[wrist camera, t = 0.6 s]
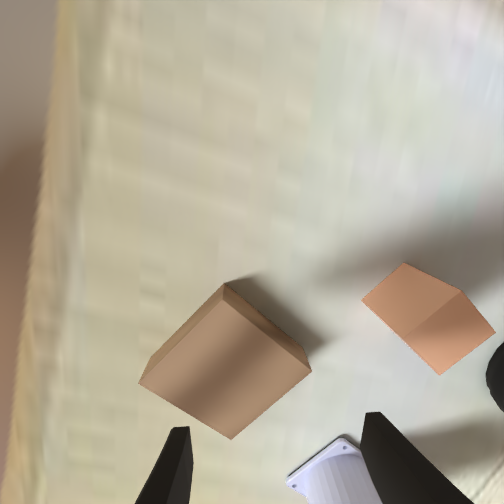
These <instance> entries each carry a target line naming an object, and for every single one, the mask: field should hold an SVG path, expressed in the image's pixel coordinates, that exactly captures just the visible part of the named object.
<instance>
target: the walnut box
mask: <svg viewBox="0 0 504 504" xmlns="http://www.w3.org/2000/svg"><path fill="white" fill-rule="evenodd" d="M311 372H312V370H311V367H310V365H309V362H308V360H307V357H306V355H305V352H304V350H303V348H302V347H301V346H300V345H299V344H298V343H296V342H295V341H294V340H293V339H292V338H290V337H289V336H288V335H287V334H285V333H284V332H283V331H282V330H281V329H279V328H278V327H277V326H276V325H274V324H273V323H272V322H271V321H270V320H268V319H267V318H266V317H265V316H264V315H262V314H261V313H260V312H259V311H257V310H256V309H255V308H254V307H253V306H251V305H250V304H249V303H248V302H246V301H245V300H244V299H243V298H242V297H240V296H239V295H238V294H237V293H236V292H234V291H233V290H232V289H231V288H229V287H228V286H227V285H226V284H225V283H224V284H223V285H222V286H221V287H220V288H219V289H218V290H217V291H216V292H215V293H214V294H213V295H212V296H211V297H210V298H209V299H208V300H207V301H206V302H205V303H204V304H203V305H202V306H201V307H200V308H199V309H198V310H197V311H196V312H195V313H194V314H193V315H192V316H191V317H190V318H189V319H188V320H187V321H186V322H185V323H184V324H183V325H182V326H181V327H180V328H179V329H178V330H177V331H176V332H175V333H174V334H173V335H172V336H171V337H170V338H169V339H168V340H167V341H166V342H165V343H164V344H163V345H162V347H161V348H160V349H159V350H158V351H157V352H156V353H155V354H154V355H153V356H152V357H151V358H150V360H149V362H148V364H147V366H146V368H145V370H144V372H143V374H142V376H141V379H140V381H139V383H138V384H140V385H142V386H143V387H145V388H147V389H148V390H150V391H151V392H153V393H155V394H156V395H158V396H160V397H161V398H163V399H165V400H166V401H168V402H170V403H171V404H173V405H174V406H176V407H178V408H179V409H181V410H183V411H184V412H186V413H188V414H189V415H191V416H193V417H194V418H196V419H197V420H199V421H201V422H202V423H204V424H206V425H207V426H209V427H211V428H212V429H214V430H216V431H217V432H219V433H220V434H222V435H224V436H225V437H227V438H229V439H230V440H231V439H233V438H234V437H235V436H236V435H237V434H239V433H240V432H241V431H242V430H243V429H244V428H246V427H247V426H248V425H249V424H250V423H252V422H253V421H254V420H255V419H256V418H257V417H259V416H260V415H261V414H262V413H263V412H265V411H266V410H267V409H268V408H269V407H270V406H272V405H273V404H274V403H275V402H276V401H278V400H279V399H280V398H281V397H282V396H283V395H285V394H286V393H287V392H288V391H289V390H291V389H292V388H293V387H294V386H295V385H296V384H298V383H299V382H300V381H301V380H302V379H304V378H305V377H306V376H307V375H308V374H309V373H311Z"/></svg>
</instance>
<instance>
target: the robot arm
mask: <svg viewBox="0 0 504 504" xmlns="http://www.w3.org/2000/svg"><path fill="white" fill-rule="evenodd" d="M193 463H194V462H193V454H192V445H191V436H190V427H189V426H186V427H174V428H173V429H171V431H170V434H169V436H168V438H167V440H166V443H165V445H164V447H163V449H162V451H161V453H160V456H159V458H158V460H157V462H156V464H155V466H154V468H153V470H152V472H151V474H150V476H149V478H148V479H147V481H146V483H145V485H144V487H143V489H142V491H141V493H140V494H139V496H138V498H137V500H136V502H135V504H189V500H190V491H191V482H192V473H193ZM286 485H287V486H288V487H289V488H291V489H293V490H295V491H296V492H298V493H300V494H302V495H303V496H305V497H307V501H308V504H474V503H473V502H472V501H471V500H469V499H468V498H467V497H466V496H465V495H464V494H463V493H462V492H461V491H460V490H459V489H458V488H456V487H455V486H454V485H453V484H452V483H451V482H450V481H449V480H448V479H447V478H446V477H445V476H444V475H443V474H442V473H441V472H440V471H439V470H438V469H437V468H436V467H435V466H434V465H433V464H431V463H430V462H429V461H428V460H427V459H426V458H425V457H424V456H423V455H422V454H421V453H420V452H419V451H418V450H417V449H416V448H415V447H414V446H413V445H412V444H411V443H410V442H409V441H408V440H407V439H406V438H405V437H404V436H403V435H402V433H401V432H400V431H399V430H398V429H397V428H396V427H395V426H394V425H393V424H392V423H391V422H390V421H389V420H388V419H387V418H386V417H385V416H384V415H383V414H382V413H381V412H369V413H366V415H365V421H364V426H363V432H362V438H361V444H360V450H359V449H358V448H357V447H355V446H354V445H352V444H351V443H350V442H348V441H347V440H345V439H344V438H338V439H337V440H336V441H334V442H333V443H332V444H330V445H329V446H328V447H327V448H325V449H324V450H323V451H321V452H320V453H319V454H317V455H316V456H315V457H314V458H312V459H311V460H310V461H308V462H307V463H306V464H304V465H303V466H302V467H301V468H299V469H298V470H297V471H295V472H294V473H293V474H292V475H290V476H289V477H288V478H287V479H286Z"/></svg>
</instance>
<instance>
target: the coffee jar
mask: <svg viewBox="0 0 504 504" xmlns="http://www.w3.org/2000/svg"><path fill="white" fill-rule="evenodd" d="M486 382H487V386H488V388H489V389H490V394H491V396H492V397H493V399H494V400H495V402H496V403H497V405H498V406H499V408H500V409H501V410H502V411H503V412H504V343H503V344H502V345H501V346H500V347H499V348H498V349H497V350H496V352H495V353H494V355H493V356H492V358H491V360H490V361H489V364H488V368H487V371H486Z"/></svg>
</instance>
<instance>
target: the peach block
mask: <svg viewBox="0 0 504 504" xmlns="http://www.w3.org/2000/svg"><path fill="white" fill-rule="evenodd" d="M361 301H362V302H363V303H364V304H365V305H366V306H367V307H368V308H369V309H370V310H371V311H372V312H373V313H374V314H375V315H376V316H378V317H379V318H380V319H381V320H382V321H383V322H384V323H385V324H386V325H387V326H388V327H389V328H390V329H391V330H392V331H393V332H394V333H395V334H396V335H397V336H398V337H399V338H400V339H401V340H402V341H403V342H404V343H405V344H406V345H408V346H409V347H410V348H411V349H412V350H413V351H414V352H415V353H416V354H417V355H418V356H419V357H420V358H421V359H422V360H423V361H424V362H425V363H427V364H428V365H429V366H430V367H431V368H432V369H433V370H434V371H435V372H436V373H437V374H438V375H441V374H442V373H443V372H445V371H446V370H447V369H449V368H450V367H451V366H453V365H454V364H455V363H457V362H458V361H459V360H460V359H462V358H463V357H464V356H466V355H467V354H468V353H470V352H471V351H472V350H474V349H475V348H476V347H478V346H479V345H480V344H481V343H483V342H484V341H485V340H487V339H488V338H489V337H491V336H492V335H493V334H495V333H496V332H495V331H494V329H493V328H492V327H491V326H490V324H489V323H488V322H487V321H486V320H485V318H484V317H483V316H482V315H481V314H480V312H479V311H478V310H477V309H476V307H475V306H474V305H473V304H472V303H471V301H470V300H469V299H468V298H467V296H466V295H465V294H464V293H463V292H462V290H460V289H458V288H456V287H453V286H451V285H449V284H447V283H445V282H443V281H441V280H439V279H437V278H435V277H433V276H431V275H429V274H426V273H424V272H422V271H420V270H418V269H416V268H414V267H412V266H410V265H408V264H406V263H403V264H401V265H400V266H399V267H398V268H397V269H396V270H395V271H393V272H392V273H391V274H390V275H389V276H388V277H387V278H385V279H384V280H383V281H382V282H381V283H380V284H379V285H378V286H376V287H375V288H374V289H373V290H372V291H371V292H370V293H368V294H367V295H366V296H365V297H364V298H363V299H362V300H361Z"/></svg>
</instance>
